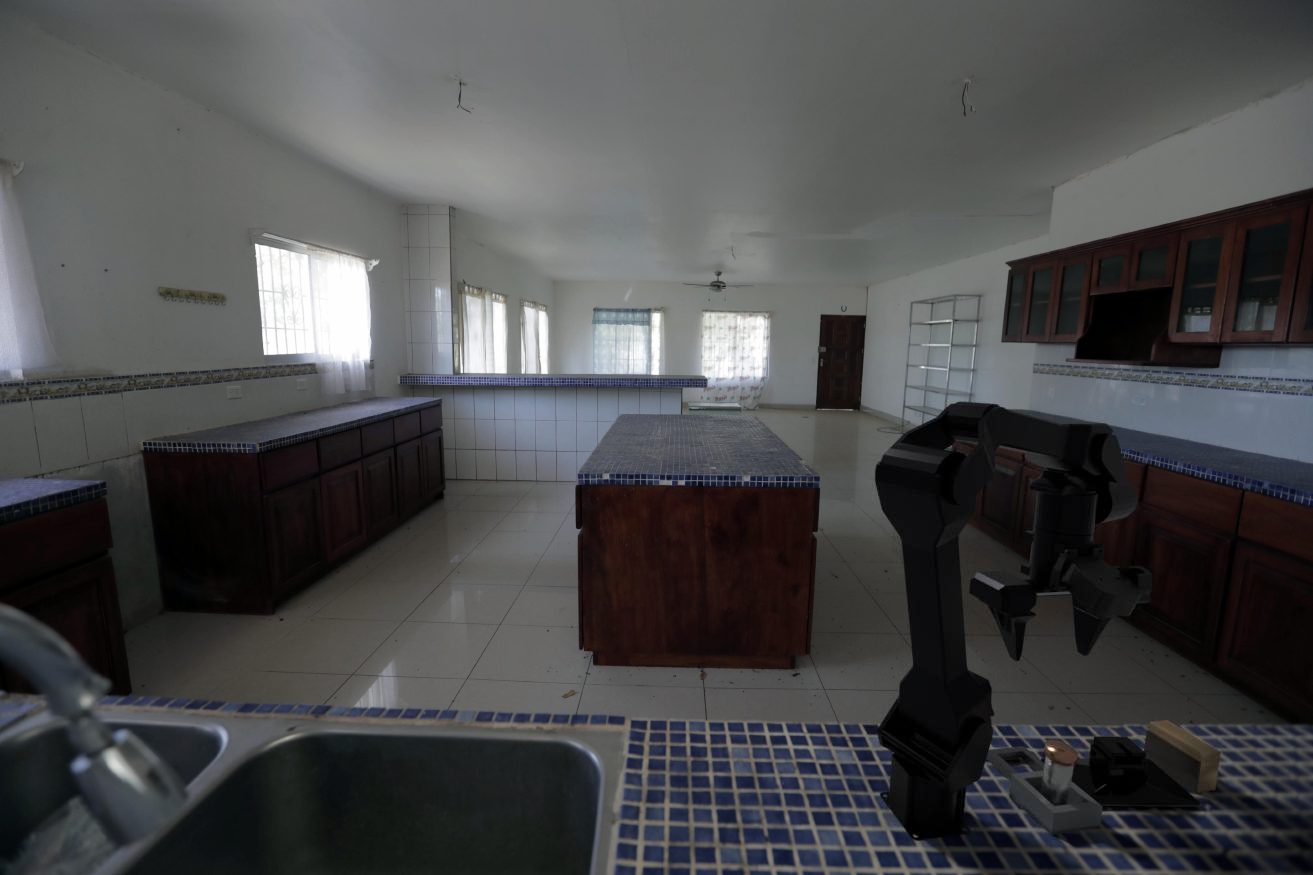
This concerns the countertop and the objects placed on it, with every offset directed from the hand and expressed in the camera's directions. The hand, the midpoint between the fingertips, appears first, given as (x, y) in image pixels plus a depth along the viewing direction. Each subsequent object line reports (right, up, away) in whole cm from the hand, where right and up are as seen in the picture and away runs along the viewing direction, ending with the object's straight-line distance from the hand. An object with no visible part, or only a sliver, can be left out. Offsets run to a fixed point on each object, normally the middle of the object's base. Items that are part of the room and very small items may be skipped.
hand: (1048, 656), depth 70 cm
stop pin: (-5, -13, -8) cm, 16 cm away
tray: (-5, -13, -8) cm, 16 cm away
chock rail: (+13, -13, -3) cm, 18 cm away
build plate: (+5, -15, -5) cm, 16 cm away
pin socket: (-5, -12, -2) cm, 13 cm away
